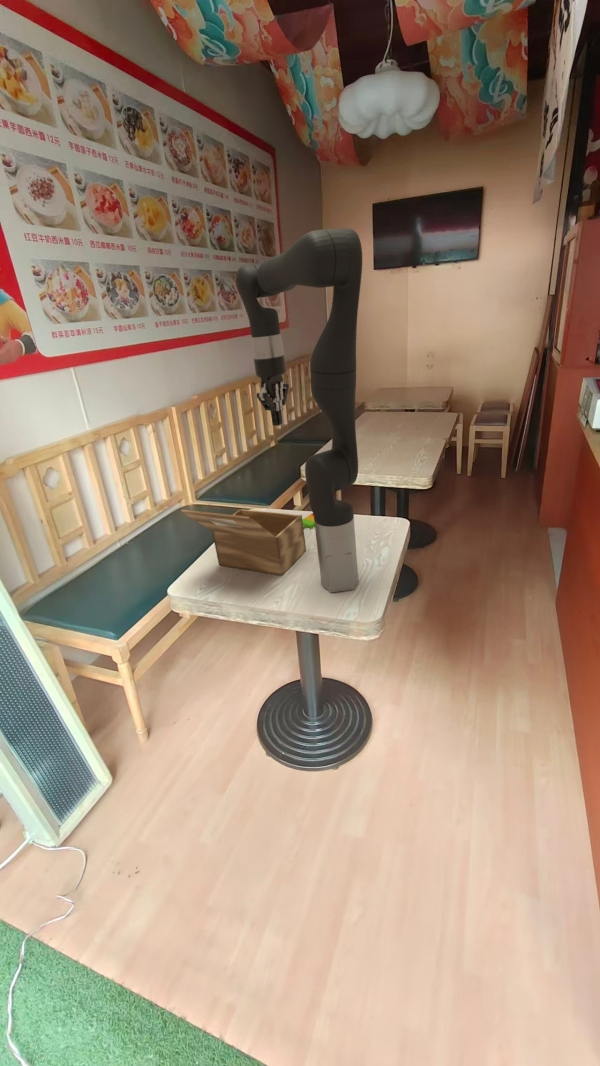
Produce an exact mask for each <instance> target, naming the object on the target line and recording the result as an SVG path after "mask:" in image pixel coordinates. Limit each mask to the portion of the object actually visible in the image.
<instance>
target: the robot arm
mask: <svg viewBox="0 0 600 1066" xmlns="http://www.w3.org/2000/svg"><path fill="white" fill-rule="evenodd" d="M362 274H363V248H362V243H361V239H360V236H359V234H358V233H357V232H356V231H355V230H354V229H352V228H346V227H345V228H344V227H343V228H328V229H327V228H325V229H316V230H311V231H309V232H307V233H305V234H304V235H302V236H301V237H300V238H299V239H298V240H296V242H294V243H293V244H292V245H291V246H290V247H289V248H287V250H286V251H284V252H282V253H279V254H277V255H275V256H272V257H269V258H267V259H266V260H264V261H263V262H261V263H255V264H254V263H253V264H246V265H245V264H244V265H241V266H240V267H239V268H238V269H237V271H236V275H235V285H236V289H237V292H238V294H239V297H240V299H241V302H242V304H243V307H244V310H245V312H246V314H247V317H248V322H249V328H250V337H251V348H252V355H253V363H254V371H255V376H256V377H258V378H260V387H261V390H260V392H257V393H256V398H257V399H258V401H259V402H260V403H261V406H262V407H263V409H264V410H265V411H268V412H270V415H271V423H272V426H275V427H276V426H278V427H279V426H281V425H283V422H284V421H283V414H282V409H283V406H285V405H286V402H287V398H288V392H289V388H290V385H289V383H285V382H284V378H283V377H284V376H283V375H284V374H286V373H287V370H286V361H285V352H284V351H285V350H284V344H283V340H282V336H281V335H282V334H281V328H280V320H279V319H280V318H279V314H278V311H277V310H276V309H275V308H271V307H266V306H265V307H264V306H262V305H261V304H260V302H259V301H258V299H260V298H268V297H273V296H277V295H280V294H281V293H285V292H289V291H291V290H293V289H294V288H295V287H297V286H302V287H303V286H304V287H309V288H310V287H311V288H317V289H320V288H329V287H330V288H331V287H332V288H333V290H332V303H331V309H330V313H329V316H328V319H327V322H326V324H325V326H324V328H323V330H322V332H321V334H320V336H319V337H318V340H317V342H316V344H315V346H314V348H313V351H312V353H311V357H310V390H311V391H310V392H311V394H312V397H313V399H314V401H315V403H316V405H317V406H318V408H319V410H320V411H321V413H322V414H323V416H324V417H325V419H326V420H327V422H328V423H329V427H330V430H331V441H332V442H331V449H329V450H325V451H321V452H319V453H315V454H313V455H311V456H309V457H308V458H307V460H306V462H305V466H304V474H305V475H304V476H305V481H306V488H307V493H308V500H309V505H310V509H311V512H312V514H313V515H314V522H315V527H314V529H315V531H314V532H315V539H316V548H317V549H316V550H317V556H318V557H317V558H318V566H319V567H318V568H319V574H320V584H321V586H322V587H323V589H325V590H327V591H329V593H337V592H345V591H352V590H356V586H357V585H358V583H359V570H358V569H359V568H358V557H357V556H358V555H357V554H358V553H357V543H356V532H355V531H356V530H355V517H354V515H355V514H354V507H353V505H352V504H351V503H350V502H348V501H346V500H342V499H335V495H334V493H335V492H338V491H342V490H345V489H346V488H350V487H351V486H353V485H354V484H355V483H356V481H357V478H358V474H359V456H358V447H357V446H358V444H357V433H356V387H357V329H358V328H357V327H358V314H359V313H358V312H359V302H360V292H361V284H362Z"/></svg>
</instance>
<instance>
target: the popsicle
mask: <svg viewBox="0 0 600 1066" xmlns="http://www.w3.org/2000/svg"><path fill="white" fill-rule="evenodd" d="M302 521H303V529H304V527H306V528H305V529H308V528H309V530H312V529H314V528H315V522H314V515H313V513H311V514H309V515H307V516H305V517H303V518H302ZM313 527H314V528H313Z"/></svg>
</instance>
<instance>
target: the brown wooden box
mask: <svg viewBox="0 0 600 1066" xmlns="http://www.w3.org/2000/svg"><path fill="white" fill-rule="evenodd" d="M232 515H238V516H247V517H250V518H252V519H253V520H254V521H256V522H257V523H258V524H259V525H261V526H262V527H263V528H265V529H266V530H267V531H268V532H270V533H271V534H272V535H274V536H275V537H276V539H270V538H262V537H254V536H246V535H238V534H230V533H222V532H214V531H211V533H212V537H213V542H214V543H213V544H214V546H215V547H214V548H215V553H216V557H217V562H218V566H219V565H220V566H219V567H225V568H230V569H231V568H232V569H237V570H243V571H249V572H250V571H251V572H255V573H262V574H263V573H264V574H269V575H275V576H280V577H281V576H282V577H283V576H284V575H285V574H286V573H287V572H288V571H289V570H290V569H291V567H293V566H294V564H296V562H297V561H298V560H299V559H301V557H302V556H303V555H304V554H305V553H306V552H307V549H306V548H307V545H306V539H305V530H304V528H303V521H302V519H303V515H302V514H291V513H283V512H272V511H263V510H262V511H261V510H251V509H238V510H237V511H235V512H234V513H233V514H232Z"/></svg>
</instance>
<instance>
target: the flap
mask: <svg viewBox="0 0 600 1066" xmlns="http://www.w3.org/2000/svg"><path fill="white" fill-rule="evenodd" d="M180 510H181V513H182V514H184V515H186V516H187V517H189V518H191V519H192V520H194V521H195V522H197V523H199V524H200V525H201V526H203V527H204V528H206V529H207V530H209V531H211V532H212V531H214V532H222V533H230V534H238V535H246V536H254V537H262V538H270V539H276V537H275V536H274V535H272V534H271V533H270V532H268V531H267V530H266V529H265V528H263V527H262V526H261V525H259V524H258V523H257V522H256V521H254V520H253V519H252V518H250V517H247V516H238V515H233V514H225V513H218V512H209V511H208V512H207V511H200V510H199V511H198V510H190V509H189V510H188V509H180Z"/></svg>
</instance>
